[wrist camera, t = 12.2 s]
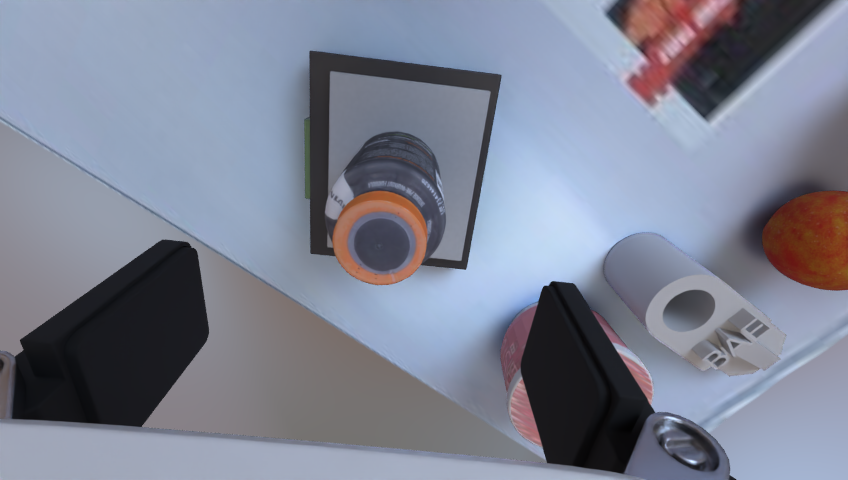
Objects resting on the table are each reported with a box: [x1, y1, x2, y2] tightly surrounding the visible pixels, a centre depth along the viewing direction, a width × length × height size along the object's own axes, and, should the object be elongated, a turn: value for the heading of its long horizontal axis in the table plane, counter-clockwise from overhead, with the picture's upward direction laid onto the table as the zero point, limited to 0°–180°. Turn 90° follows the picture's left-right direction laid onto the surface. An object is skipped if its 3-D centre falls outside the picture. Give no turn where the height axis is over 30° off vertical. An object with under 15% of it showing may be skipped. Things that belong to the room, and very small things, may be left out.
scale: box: [304, 51, 501, 270], centre depth 28 cm, size 14×12×3 cm
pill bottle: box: [325, 131, 446, 285], centre depth 21 cm, size 6×6×11 cm
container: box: [501, 302, 654, 448], centre depth 32 cm, size 10×10×8 cm
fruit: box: [762, 191, 848, 291], centre depth 27 cm, size 7×7×8 cm
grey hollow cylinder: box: [604, 233, 786, 376], centre depth 31 cm, size 6×18×8 cm, turn 54°
